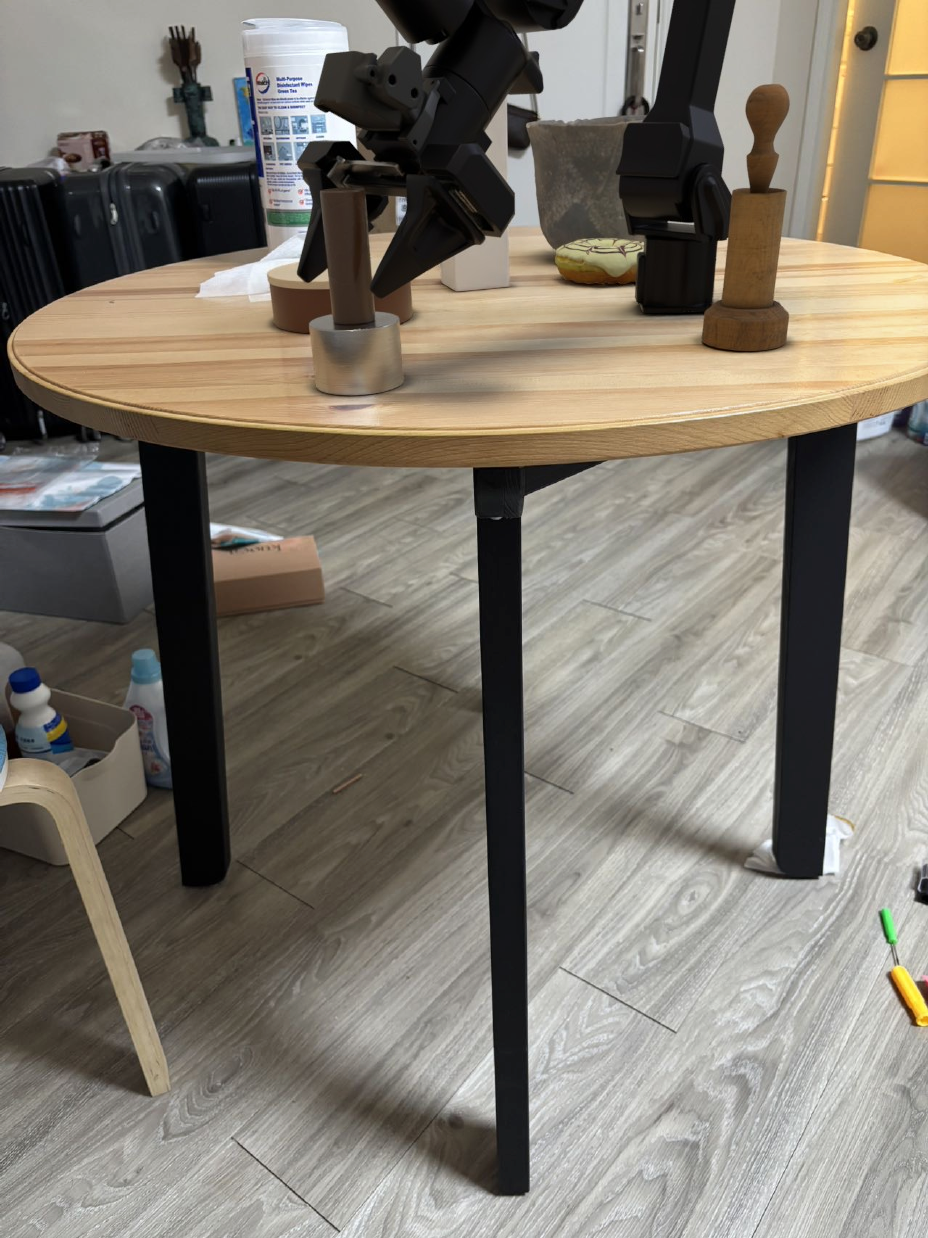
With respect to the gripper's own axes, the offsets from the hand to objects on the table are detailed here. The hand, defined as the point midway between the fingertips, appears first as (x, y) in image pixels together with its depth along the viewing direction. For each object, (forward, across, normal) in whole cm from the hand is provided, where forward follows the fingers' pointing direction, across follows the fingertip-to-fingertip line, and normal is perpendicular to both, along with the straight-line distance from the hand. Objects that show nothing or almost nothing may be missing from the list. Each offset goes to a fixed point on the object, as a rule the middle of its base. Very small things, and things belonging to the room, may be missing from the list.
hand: (336, 286), depth 66 cm
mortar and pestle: (-16, +13, +26) cm, 33 cm away
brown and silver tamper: (+4, 0, +6) cm, 7 cm away
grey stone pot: (-34, -26, +43) cm, 61 cm away
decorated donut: (-26, -16, +36) cm, 47 cm away
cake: (-4, -20, +14) cm, 25 cm away
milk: (-18, -24, +28) cm, 41 cm away
